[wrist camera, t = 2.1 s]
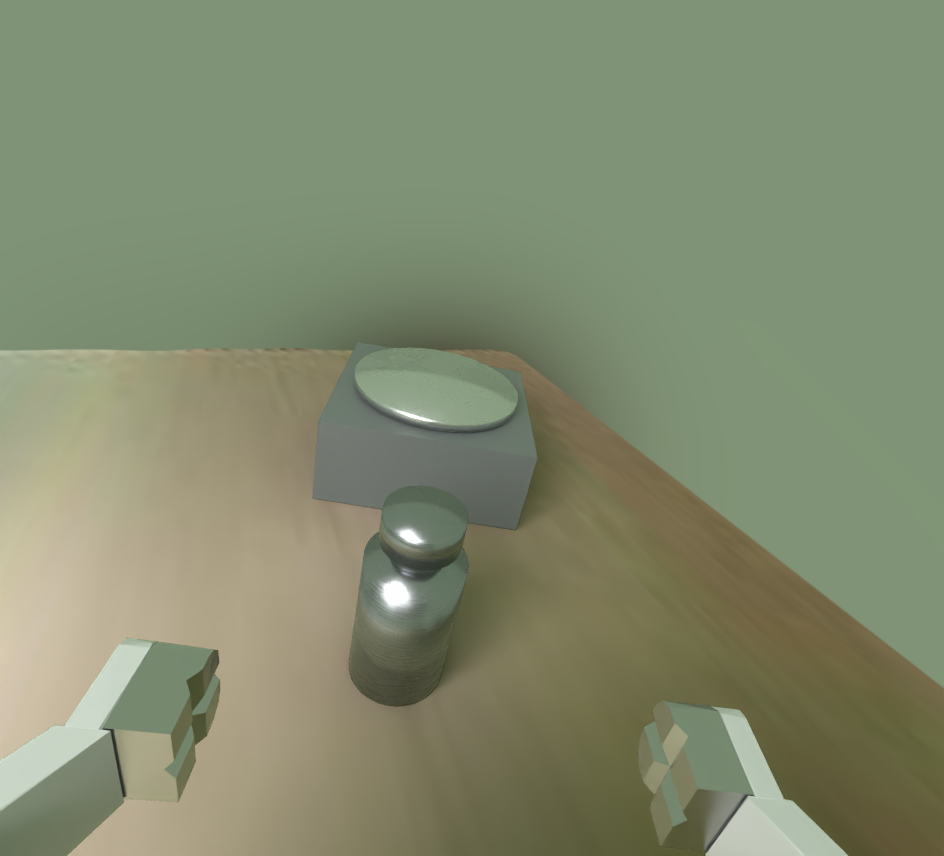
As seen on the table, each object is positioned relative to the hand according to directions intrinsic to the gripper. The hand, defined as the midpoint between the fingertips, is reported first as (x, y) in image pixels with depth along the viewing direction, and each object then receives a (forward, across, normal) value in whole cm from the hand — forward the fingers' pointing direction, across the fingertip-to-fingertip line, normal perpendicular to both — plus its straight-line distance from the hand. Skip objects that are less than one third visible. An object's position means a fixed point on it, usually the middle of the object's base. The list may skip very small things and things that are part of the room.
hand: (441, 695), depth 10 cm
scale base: (+31, 0, +14) cm, 34 cm away
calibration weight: (+12, 0, +15) cm, 19 cm away
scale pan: (+31, 0, +8) cm, 32 cm away
